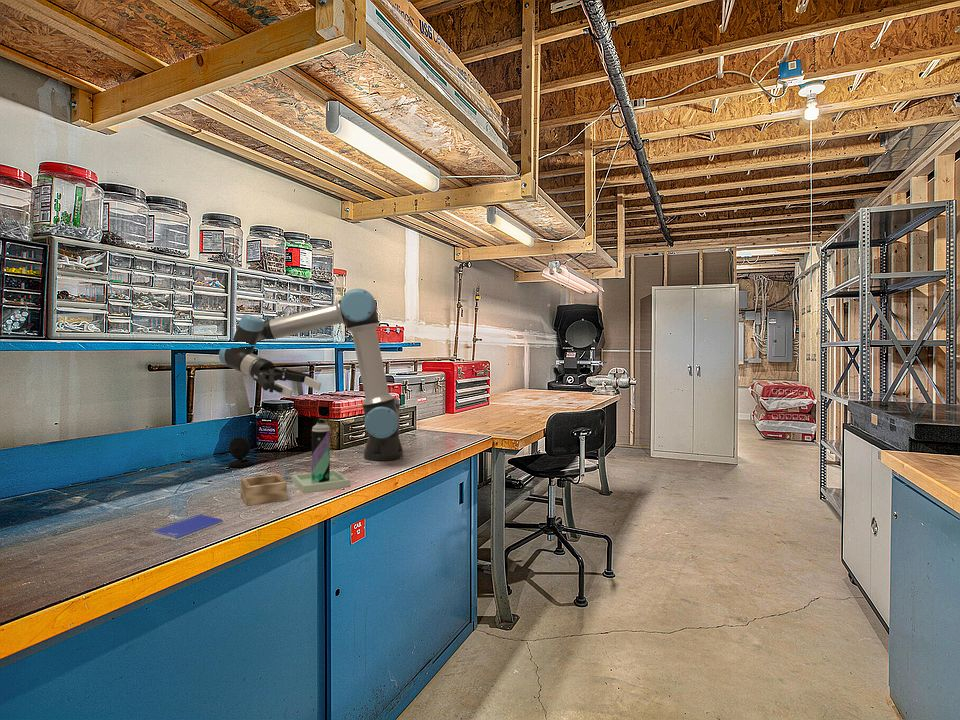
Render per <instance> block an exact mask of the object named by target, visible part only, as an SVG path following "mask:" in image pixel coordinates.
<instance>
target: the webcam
mask: <svg viewBox="0 0 960 720" xmlns="http://www.w3.org/2000/svg"><path fill="white" fill-rule="evenodd" d="M228 446H229V447H228V449H229V452H230V455H231V456H232V457H233V458H234V459H236V460H233V461H230V462H229V463H228V464H227V466H228V467H230V468H242V467H248V466H250V465H252V462H253V461H252V460H250V459H245V458H247V457H248V456H249V454H250V452H251V445H250V442H249V441H248V440H247V438H245V437H243V436H238V437H235V438H233V439H232V440H231V441H230V443H229V445H228Z"/></svg>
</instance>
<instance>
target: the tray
mask: <svg viewBox="0 0 960 720" xmlns="http://www.w3.org/2000/svg"><path fill="white" fill-rule="evenodd" d="M291 476H292V477H291V479H292V480H291V482H292V483H293V484H294V485H295V486H296V487H297V488H298V489H299V490H300V491H301V492H302V493H303V494H307V493H315V492H320V491H321V492H322V490H323V491H329V489H330V490H334V489H336V488H337V489H342V487H344V488H349V487H348V486H350V487H351V479H350V478H348V477H347V476H346V475H343V474H342V473H341V472H340V471H338V470H336V469H332V470H331V469H330V479H329V482H324V483H317V484H312V483H311V472H308V473H307V472H306V473H299V474H292V475H291Z"/></svg>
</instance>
